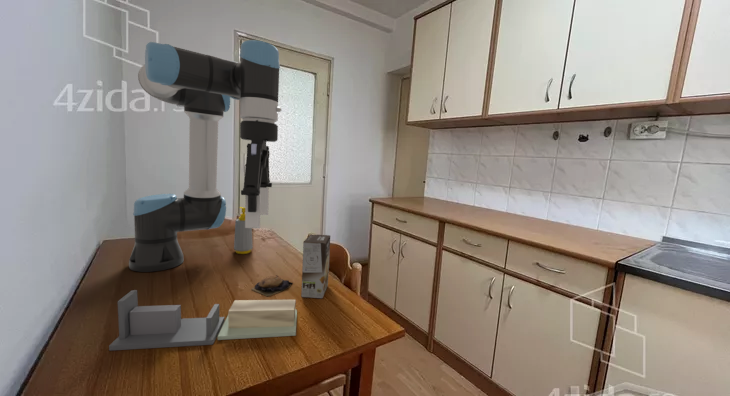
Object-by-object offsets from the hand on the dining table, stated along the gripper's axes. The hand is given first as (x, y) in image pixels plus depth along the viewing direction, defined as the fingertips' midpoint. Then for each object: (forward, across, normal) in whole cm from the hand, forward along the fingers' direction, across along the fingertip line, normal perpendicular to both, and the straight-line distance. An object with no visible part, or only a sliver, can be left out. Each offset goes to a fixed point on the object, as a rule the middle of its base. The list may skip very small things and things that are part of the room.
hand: (257, 220), depth 66 cm
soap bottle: (+25, +54, +13) cm, 61 cm away
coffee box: (+25, +17, -14) cm, 33 cm away
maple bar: (+24, 0, -2) cm, 24 cm away
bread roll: (+26, +20, -2) cm, 33 cm away
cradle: (+25, -2, +17) cm, 30 cm away
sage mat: (+25, 0, -1) cm, 25 cm away
